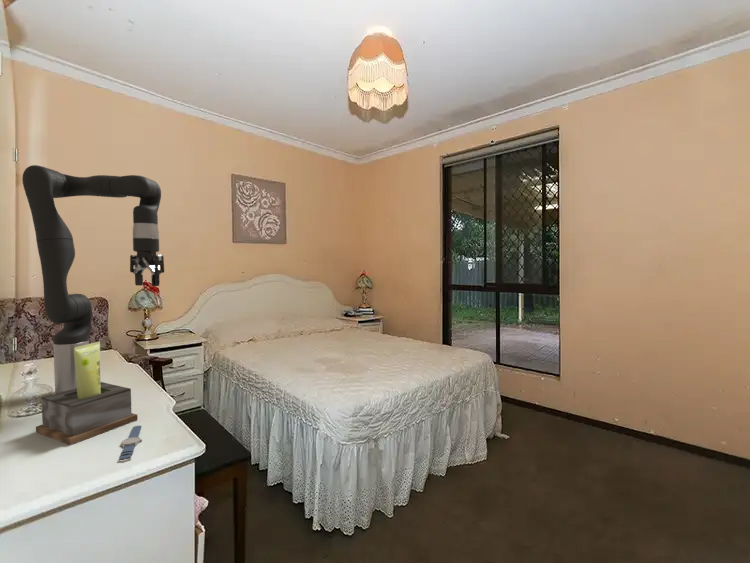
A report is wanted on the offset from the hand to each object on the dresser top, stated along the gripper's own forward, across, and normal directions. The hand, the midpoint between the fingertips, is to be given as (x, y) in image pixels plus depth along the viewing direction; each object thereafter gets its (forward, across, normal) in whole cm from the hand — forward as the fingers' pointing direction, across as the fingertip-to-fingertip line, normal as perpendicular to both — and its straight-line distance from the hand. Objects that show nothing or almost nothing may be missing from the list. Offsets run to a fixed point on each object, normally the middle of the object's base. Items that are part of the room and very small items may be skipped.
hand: (147, 285), depth 126 cm
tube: (+34, +12, -25) cm, 43 cm away
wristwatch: (+37, +32, -26) cm, 55 cm away
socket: (+36, +12, -25) cm, 46 cm away
